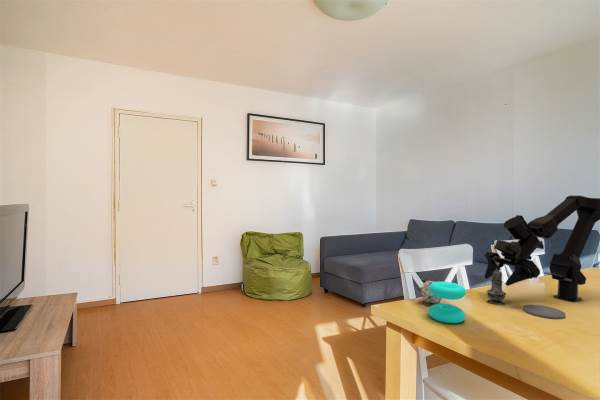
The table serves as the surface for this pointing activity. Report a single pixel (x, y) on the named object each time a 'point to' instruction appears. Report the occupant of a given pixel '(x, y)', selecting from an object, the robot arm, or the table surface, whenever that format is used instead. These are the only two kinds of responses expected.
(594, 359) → the table surface
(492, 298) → the dark grey tall piece
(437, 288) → the donuts
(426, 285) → the game die
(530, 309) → the charcoal mat
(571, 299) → the robot arm
